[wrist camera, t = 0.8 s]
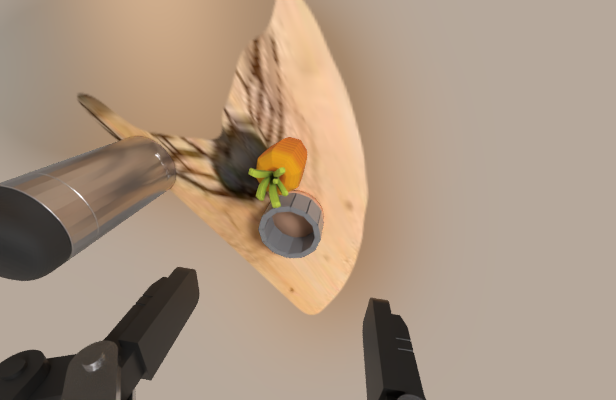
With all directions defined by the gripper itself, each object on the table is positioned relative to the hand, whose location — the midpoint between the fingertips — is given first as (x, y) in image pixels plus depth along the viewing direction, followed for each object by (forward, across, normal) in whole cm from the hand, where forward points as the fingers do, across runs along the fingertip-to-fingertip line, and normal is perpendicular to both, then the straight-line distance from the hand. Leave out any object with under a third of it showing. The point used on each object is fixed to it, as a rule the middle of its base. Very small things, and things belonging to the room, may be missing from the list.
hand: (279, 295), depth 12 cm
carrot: (+26, +3, +1) cm, 26 cm away
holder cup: (+26, +3, +12) cm, 29 cm away
